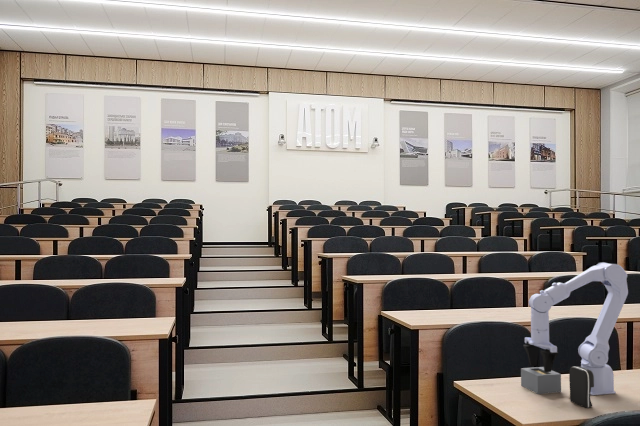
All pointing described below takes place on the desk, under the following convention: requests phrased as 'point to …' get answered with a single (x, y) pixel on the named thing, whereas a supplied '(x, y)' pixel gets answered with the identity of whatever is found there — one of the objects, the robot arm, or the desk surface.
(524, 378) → the coin box
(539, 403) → the desk surface
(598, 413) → the desk surface
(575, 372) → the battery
